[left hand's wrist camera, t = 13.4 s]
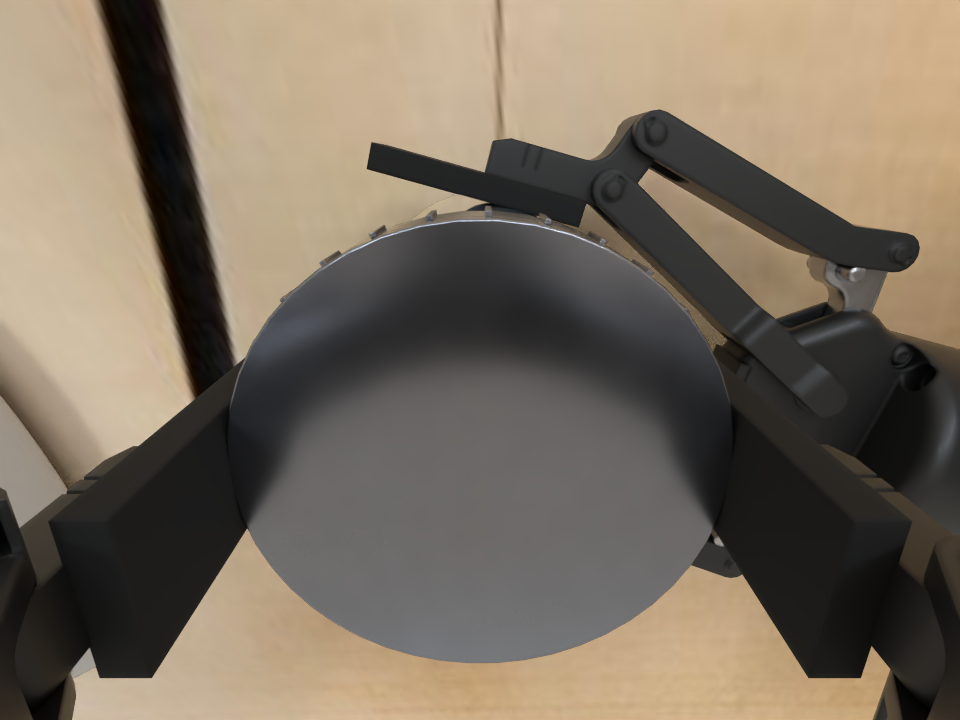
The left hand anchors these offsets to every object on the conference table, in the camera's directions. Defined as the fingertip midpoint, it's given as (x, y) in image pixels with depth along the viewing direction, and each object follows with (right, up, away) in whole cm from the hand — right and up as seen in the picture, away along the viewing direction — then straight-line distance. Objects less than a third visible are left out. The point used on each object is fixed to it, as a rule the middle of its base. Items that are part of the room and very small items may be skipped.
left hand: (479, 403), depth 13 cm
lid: (0, -1, -3) cm, 3 cm away
